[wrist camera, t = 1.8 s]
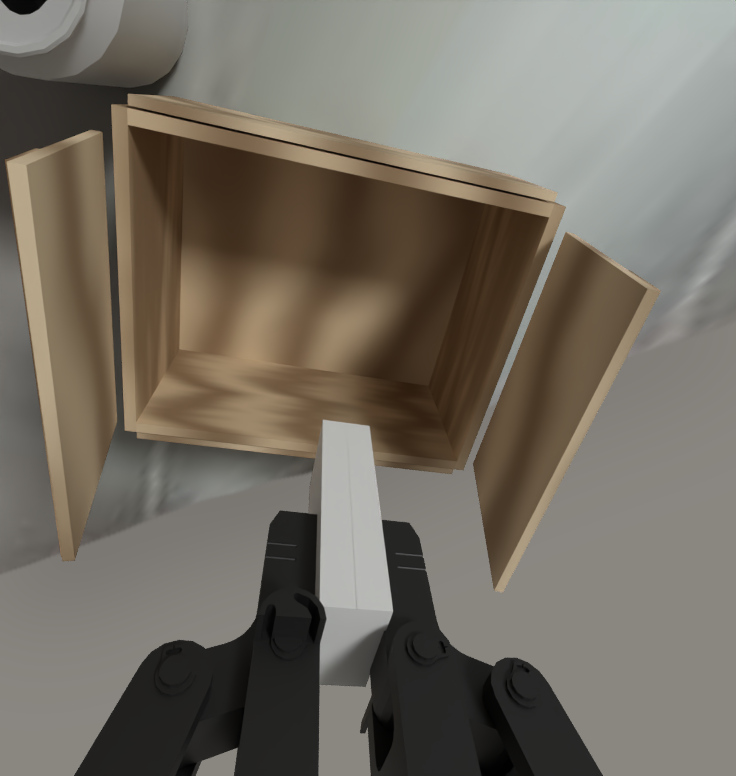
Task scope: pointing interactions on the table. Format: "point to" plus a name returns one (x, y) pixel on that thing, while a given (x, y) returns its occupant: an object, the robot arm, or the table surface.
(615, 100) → the table surface
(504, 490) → the flap right
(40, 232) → the flap left
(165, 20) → the can
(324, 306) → the carton
